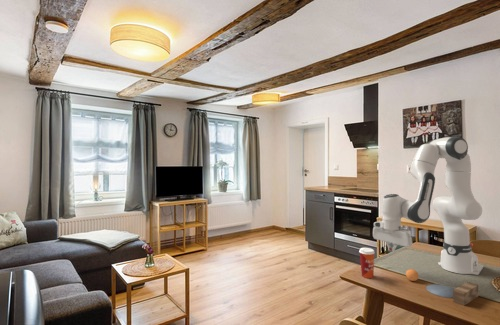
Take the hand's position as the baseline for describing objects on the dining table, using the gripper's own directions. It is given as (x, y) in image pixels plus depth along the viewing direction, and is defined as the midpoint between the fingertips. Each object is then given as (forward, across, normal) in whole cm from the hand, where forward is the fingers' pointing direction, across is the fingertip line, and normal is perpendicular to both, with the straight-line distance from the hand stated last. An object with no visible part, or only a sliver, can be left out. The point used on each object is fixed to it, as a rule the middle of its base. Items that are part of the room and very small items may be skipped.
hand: (391, 251), depth 150 cm
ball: (+9, -10, -1) cm, 14 cm away
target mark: (+12, -24, -1) cm, 27 cm away
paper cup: (+13, +6, +12) cm, 19 cm away
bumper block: (+12, -33, -1) cm, 35 cm away
